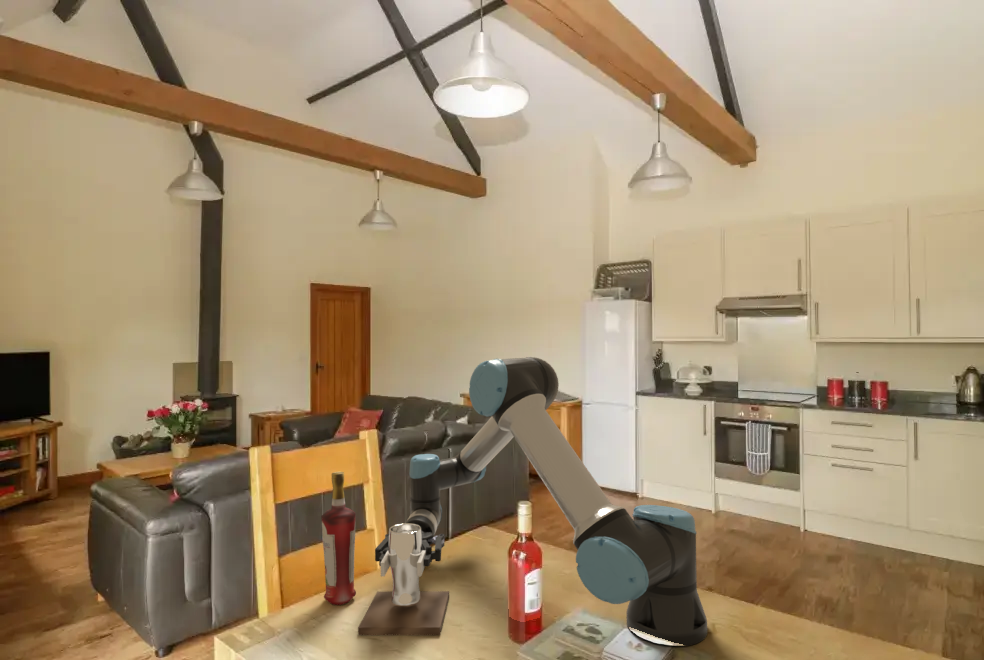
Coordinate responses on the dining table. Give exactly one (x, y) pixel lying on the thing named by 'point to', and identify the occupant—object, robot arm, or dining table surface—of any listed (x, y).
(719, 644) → the dining table surface
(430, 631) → the walnut board
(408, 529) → the silver metal tumbler
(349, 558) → the liquor
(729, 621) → the dining table surface
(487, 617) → the dining table surface
